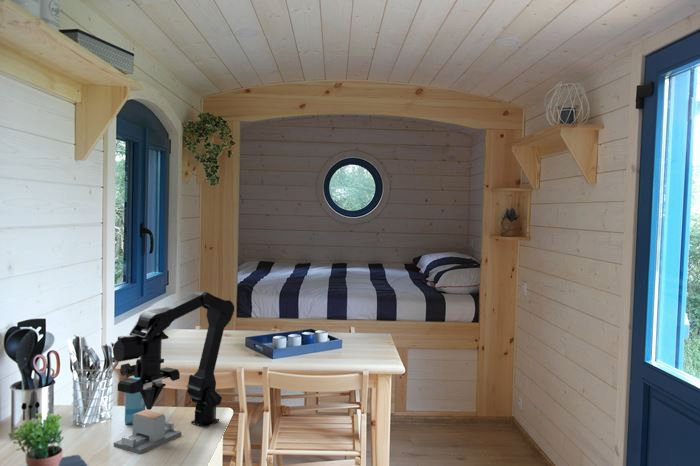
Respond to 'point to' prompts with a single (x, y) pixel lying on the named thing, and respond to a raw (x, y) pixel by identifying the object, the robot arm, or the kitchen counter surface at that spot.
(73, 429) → the kitchen counter surface
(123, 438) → the rail mount
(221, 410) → the kitchen counter surface
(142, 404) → the blue block
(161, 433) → the rail module
